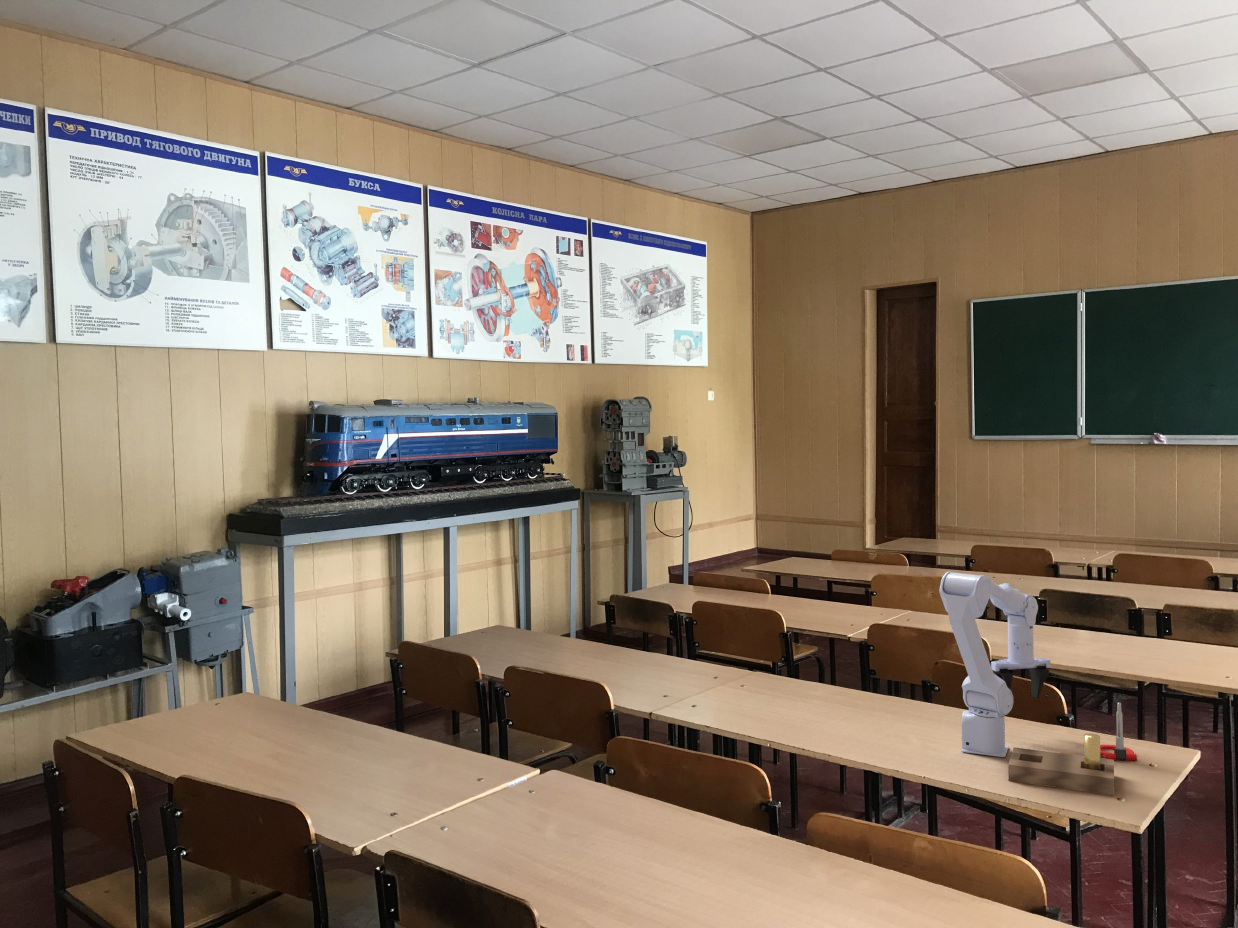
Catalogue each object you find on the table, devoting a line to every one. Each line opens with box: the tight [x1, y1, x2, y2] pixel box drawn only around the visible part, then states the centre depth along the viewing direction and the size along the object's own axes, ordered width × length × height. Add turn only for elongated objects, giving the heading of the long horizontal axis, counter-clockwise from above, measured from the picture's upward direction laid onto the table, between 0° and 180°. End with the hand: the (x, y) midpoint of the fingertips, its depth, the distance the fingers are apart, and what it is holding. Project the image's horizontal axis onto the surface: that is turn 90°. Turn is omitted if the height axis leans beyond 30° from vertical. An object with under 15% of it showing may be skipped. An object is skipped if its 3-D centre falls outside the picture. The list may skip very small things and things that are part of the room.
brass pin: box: [1083, 733, 1101, 771], centre depth 198 cm, size 3×3×10 cm
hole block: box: [1007, 746, 1115, 796], centre depth 201 cm, size 20×12×4 cm, turn 62°
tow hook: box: [1100, 702, 1138, 761], centre depth 215 cm, size 8×13×9 cm
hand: (1021, 697), depth 228 cm, fingers open, 7 cm apart
